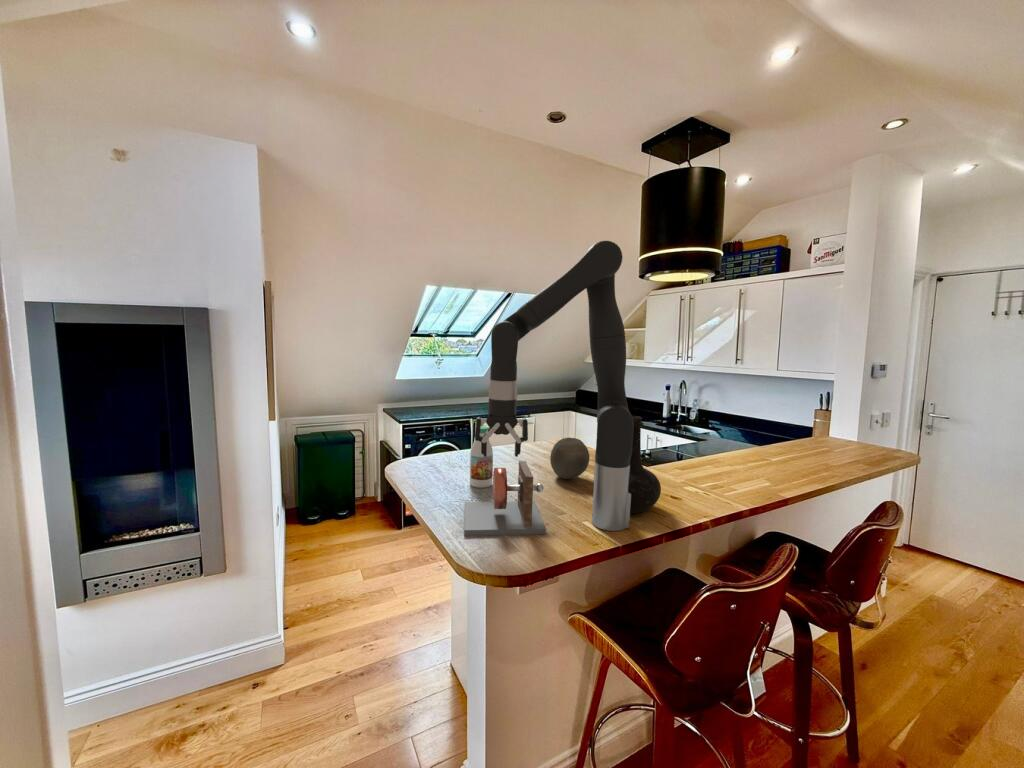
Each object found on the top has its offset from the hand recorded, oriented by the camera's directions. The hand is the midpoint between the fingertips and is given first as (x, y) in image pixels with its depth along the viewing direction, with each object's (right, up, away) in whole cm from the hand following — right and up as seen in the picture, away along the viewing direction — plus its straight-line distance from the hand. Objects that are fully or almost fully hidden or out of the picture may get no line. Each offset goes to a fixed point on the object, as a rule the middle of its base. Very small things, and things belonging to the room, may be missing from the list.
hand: (500, 455), depth 112 cm
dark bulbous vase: (+38, -18, +13) cm, 45 cm away
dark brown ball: (+24, -15, +38) cm, 47 cm away
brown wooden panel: (+6, -17, +2) cm, 18 cm away
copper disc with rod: (+5, -15, +2) cm, 16 cm away
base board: (0, -18, +2) cm, 18 cm away
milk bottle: (-8, -15, +29) cm, 34 cm away
